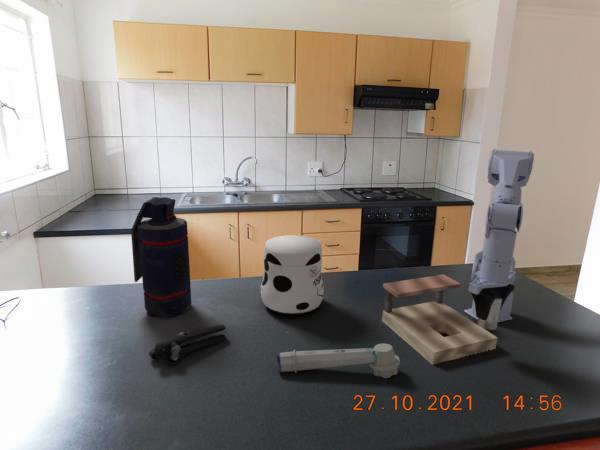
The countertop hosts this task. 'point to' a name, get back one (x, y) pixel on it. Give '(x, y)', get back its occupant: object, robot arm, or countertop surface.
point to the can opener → (173, 350)
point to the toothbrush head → (342, 359)
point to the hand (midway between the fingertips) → (487, 315)
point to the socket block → (434, 321)
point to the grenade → (162, 258)
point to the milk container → (292, 274)
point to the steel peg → (492, 315)
